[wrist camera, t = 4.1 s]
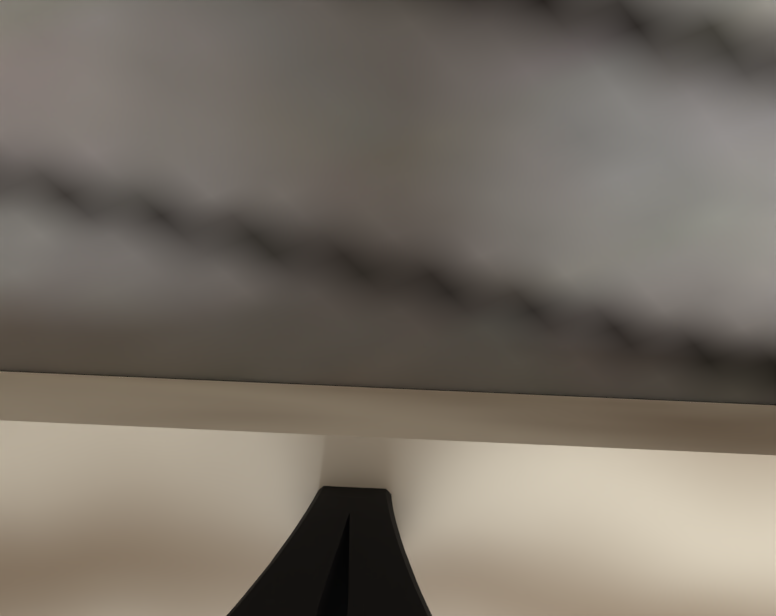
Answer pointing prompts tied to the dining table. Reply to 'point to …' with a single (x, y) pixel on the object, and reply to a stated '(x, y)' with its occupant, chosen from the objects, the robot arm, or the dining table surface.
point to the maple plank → (388, 471)
